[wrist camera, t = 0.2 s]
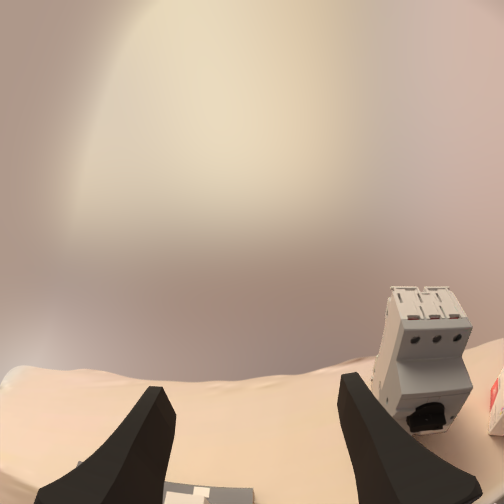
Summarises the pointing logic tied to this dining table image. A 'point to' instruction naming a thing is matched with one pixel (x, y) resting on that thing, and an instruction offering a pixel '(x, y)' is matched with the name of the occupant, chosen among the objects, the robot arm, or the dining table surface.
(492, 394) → the ink cartridge box
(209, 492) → the breaker panel
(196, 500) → the block
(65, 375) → the dining table surface
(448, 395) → the circuit breaker
